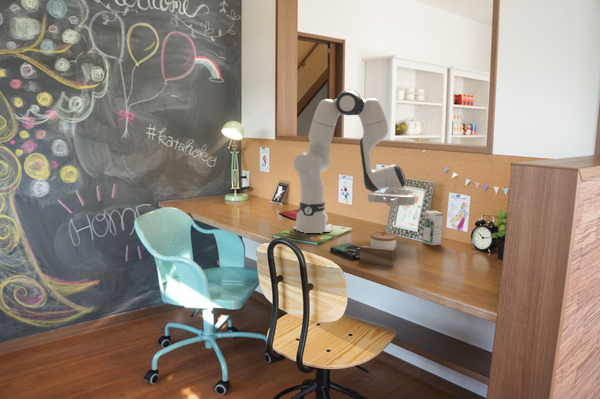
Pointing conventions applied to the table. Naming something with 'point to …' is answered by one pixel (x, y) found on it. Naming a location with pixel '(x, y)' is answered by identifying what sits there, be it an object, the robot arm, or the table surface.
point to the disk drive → (347, 251)
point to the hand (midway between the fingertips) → (388, 201)
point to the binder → (290, 214)
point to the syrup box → (433, 227)
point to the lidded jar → (383, 240)
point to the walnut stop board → (376, 255)
